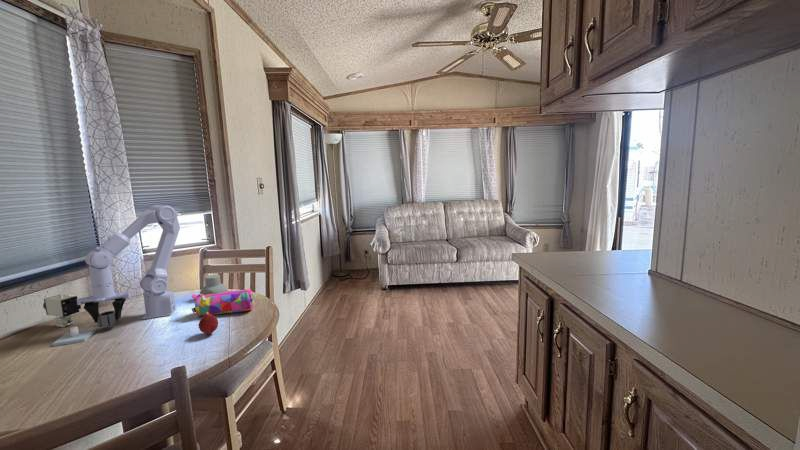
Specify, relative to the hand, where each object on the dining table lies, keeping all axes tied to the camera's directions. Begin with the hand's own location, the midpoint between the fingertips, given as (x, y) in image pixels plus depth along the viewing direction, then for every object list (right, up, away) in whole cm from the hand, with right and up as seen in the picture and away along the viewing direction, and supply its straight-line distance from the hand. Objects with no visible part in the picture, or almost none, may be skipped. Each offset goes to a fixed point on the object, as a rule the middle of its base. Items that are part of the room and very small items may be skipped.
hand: (108, 320), depth 117 cm
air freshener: (+20, +1, +32) cm, 38 cm away
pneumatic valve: (-20, -3, +4) cm, 20 cm away
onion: (+40, -4, -5) cm, 40 cm away
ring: (0, -1, 0) cm, 1 cm away
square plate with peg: (-5, -4, -7) cm, 9 cm away
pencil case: (+35, -1, +14) cm, 38 cm away
